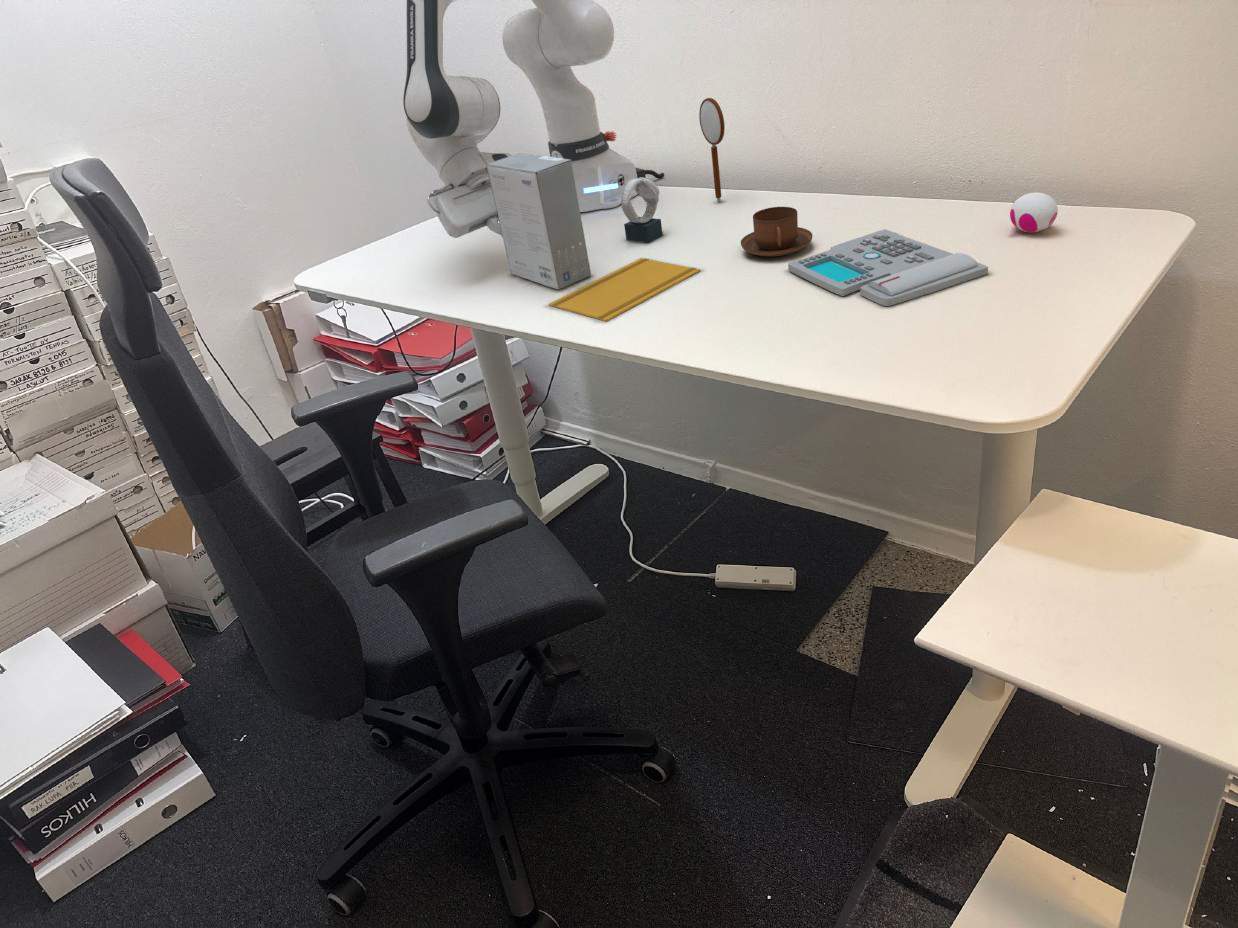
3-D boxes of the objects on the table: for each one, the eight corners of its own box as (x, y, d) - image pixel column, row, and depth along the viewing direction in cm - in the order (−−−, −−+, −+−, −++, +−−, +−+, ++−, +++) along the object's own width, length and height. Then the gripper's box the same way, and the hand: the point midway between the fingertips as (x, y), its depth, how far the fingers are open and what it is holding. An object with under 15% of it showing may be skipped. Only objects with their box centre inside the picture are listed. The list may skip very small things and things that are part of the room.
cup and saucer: (825, 250, 136) (825, 213, 133) (759, 268, 134) (757, 231, 131) (792, 232, 146) (791, 197, 143) (730, 248, 144) (727, 213, 141)
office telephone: (991, 257, 117) (876, 297, 112) (989, 274, 119) (876, 314, 113) (885, 221, 136) (781, 253, 130) (884, 236, 137) (782, 269, 132)
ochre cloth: (641, 259, 147) (641, 257, 146) (700, 271, 137) (700, 269, 137) (549, 305, 135) (548, 303, 135) (606, 321, 126) (606, 319, 126)
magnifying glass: (733, 205, 165) (724, 99, 154) (725, 207, 164) (716, 101, 153) (712, 197, 172) (702, 95, 161) (705, 199, 171) (694, 97, 160)
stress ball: (1003, 247, 134) (985, 219, 130) (1041, 210, 133) (1023, 181, 129) (1036, 258, 127) (1018, 229, 124) (1076, 219, 126) (1059, 189, 123)
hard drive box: (593, 276, 143) (573, 159, 132) (558, 291, 140) (535, 172, 129) (542, 260, 154) (520, 151, 143) (509, 274, 150) (483, 163, 139)
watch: (669, 232, 157) (661, 173, 151) (642, 246, 152) (633, 186, 147) (646, 229, 161) (639, 172, 155) (620, 243, 156) (610, 185, 150)
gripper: (425, 183, 142) (471, 245, 140) (517, 151, 152) (560, 208, 151) (419, 206, 147) (463, 266, 146) (508, 173, 158) (550, 229, 156)
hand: (513, 236), depth 149 cm, fingers closed
